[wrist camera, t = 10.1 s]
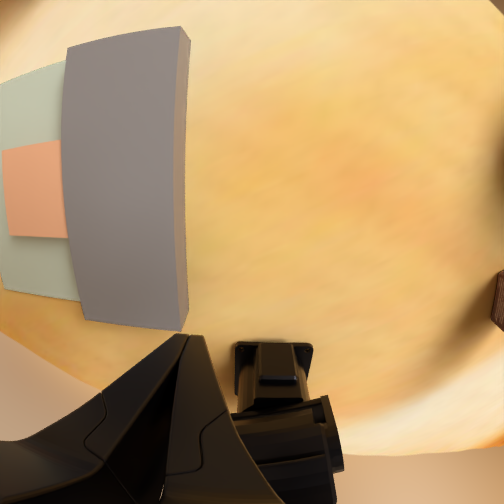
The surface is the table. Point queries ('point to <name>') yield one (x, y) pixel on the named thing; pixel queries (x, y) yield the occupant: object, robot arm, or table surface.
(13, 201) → the coaster
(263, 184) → the table surface
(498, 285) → the box
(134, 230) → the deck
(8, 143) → the mat
